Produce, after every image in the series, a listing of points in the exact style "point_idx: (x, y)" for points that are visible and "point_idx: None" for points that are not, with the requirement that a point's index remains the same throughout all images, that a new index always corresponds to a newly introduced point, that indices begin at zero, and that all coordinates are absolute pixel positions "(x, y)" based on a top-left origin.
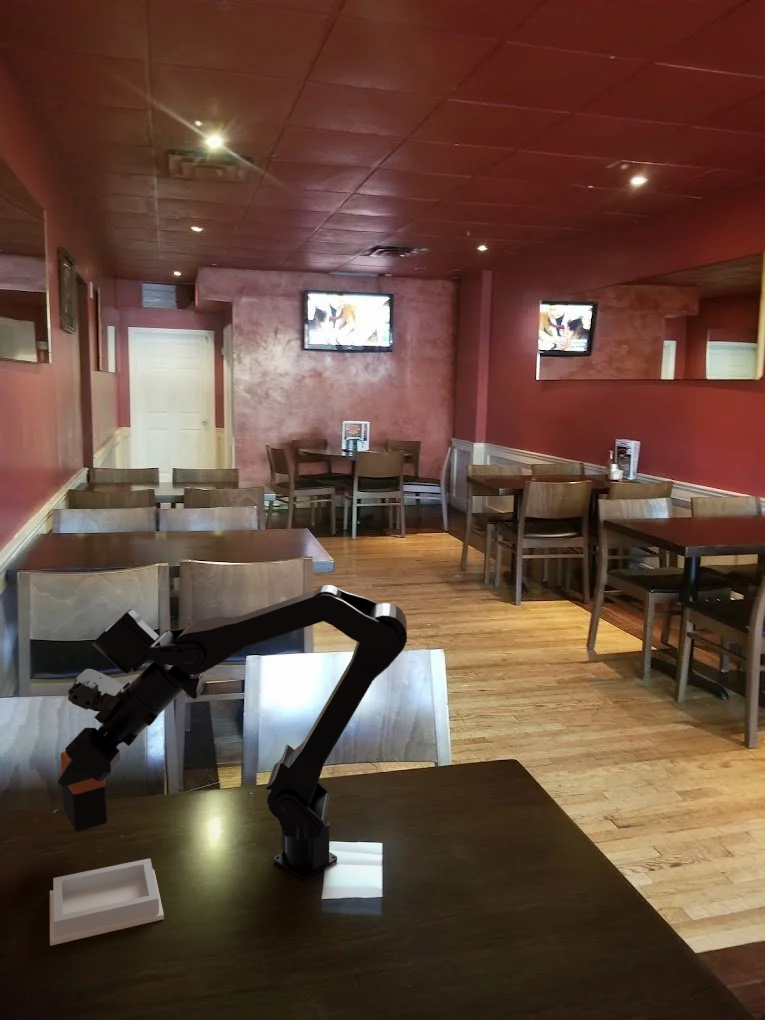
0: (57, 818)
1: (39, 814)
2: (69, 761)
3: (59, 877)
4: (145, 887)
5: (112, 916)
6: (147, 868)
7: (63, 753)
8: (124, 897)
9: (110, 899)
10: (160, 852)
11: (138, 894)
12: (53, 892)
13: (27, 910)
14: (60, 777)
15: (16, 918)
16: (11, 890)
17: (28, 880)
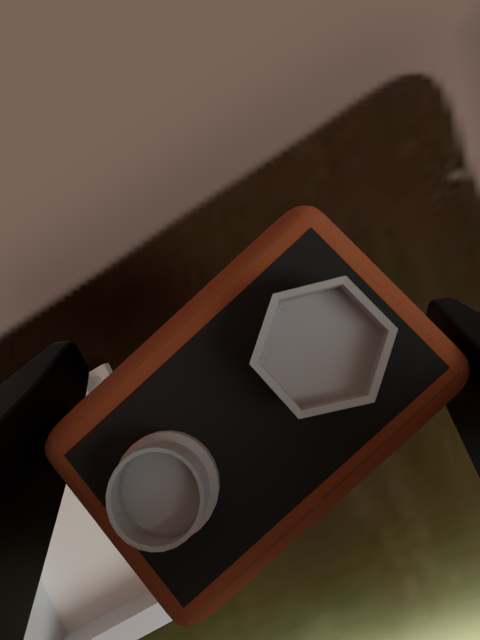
0: (420, 202)
1: (430, 143)
2: (153, 354)
3: (86, 392)
4: (143, 591)
5: None
6: (152, 615)
7: (278, 234)
8: (103, 552)
9: (90, 522)
10: (311, 561)
11: (116, 583)
12: (99, 374)
13: (56, 341)
14: (22, 368)
15: (30, 333)
16: (114, 267)
17: (152, 284)
